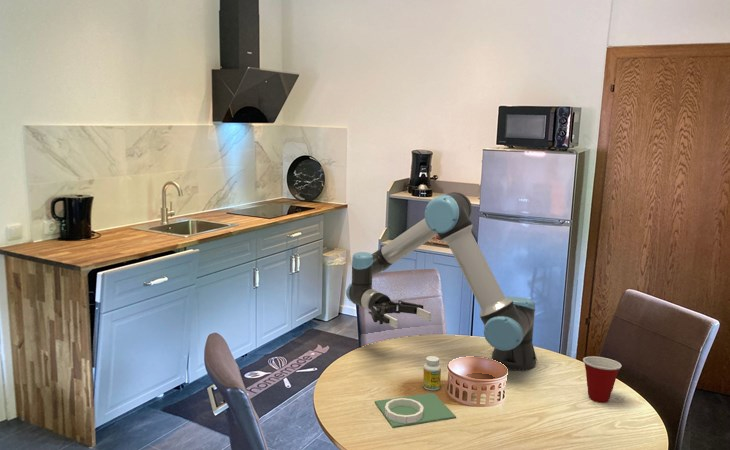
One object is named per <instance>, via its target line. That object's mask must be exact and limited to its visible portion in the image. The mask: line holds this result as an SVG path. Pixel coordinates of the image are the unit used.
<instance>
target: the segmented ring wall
mask: <svg viewBox="0 0 730 450" xmlns="http://www.w3.org/2000/svg"><path fill="white" fill-rule="evenodd" d="M397 398H398V399H392V398H391V399H392V400H391V401H389V402H387V403H386V406H385V415H386V416H387V418H388V419H390V420H392V421H394V422H397V423H405V424H406V423H407V424H408V423H414V422H417V421H419V420H421V419H422V417H423V409H424V407H423V406H422V405H421V403H420V402H418V401H415V400H413V399H406V398H399V397H397ZM397 406H409V407H412V408H415V409H417V410H418V411H419V412H417V413H416V414H412V415H399V414H396V413H393V412H391V411H390V409H391V408H393V407H397Z"/></svg>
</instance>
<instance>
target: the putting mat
mask: <svg viewBox="0 0 730 450" xmlns="http://www.w3.org/2000/svg"><path fill="white" fill-rule="evenodd" d="M398 398H406V399H413V400H415V401H418V402H420V403H421V405H422V406H423V407H424V409H423V417H422V419H421V420H419V421H417V422H414V423H408V424H407V423H406V424H405V423H397V422H394V421H392V420H390V419H388V418H387V416H386V415H385V406H386V403H387V402H389V401H391V400H392V399H398ZM374 404H375V405H376V407H377V408H378V409H379V411H380V412H381V414H382V416H383V417H385V419H386V421H387V422H388V423H389V425H390V426H391V427H392V429H394V428H401V427H407V426H413V425H414V426H415V425H420V424H427V423H433V422H434V423H435V422H439V421H446V420H451V419H452V420H453V419H456V418H457V416H456V415H455V414H454V412H452V410H451V409H450V408H449V407H448V406H447V405H446V404H445V403H444V402H443V400H441V399H440V398H439V397H438V396H437V394H435V392H429V393H422V394H416V395H415V394H414V395H406V396H402V397H400V396H399V397H394V398H385V399H381V400H374ZM390 411H391V412H393V413H396V414H399V415H412V414H416V413H417V412H419V411H418V410H417V409H415V408H412V407H409V406H397V407H393V408H391V409H390Z"/></svg>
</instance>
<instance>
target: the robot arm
mask: <svg viewBox="0 0 730 450" xmlns="http://www.w3.org/2000/svg"><path fill="white" fill-rule="evenodd" d="M472 212H473V205H472V203H471V201H470V199H469V198H468V197H467V196H466V195H465V194H464V193H461V192H457V191H455V192H449V193H447V194H440V195H437V196H436V197H433V199H431V200H430V201H429V202H428V203H427V204H426V207H425V210H424V218H422V220H420V221H419V222H417V223H416V224H414V225H413V226H411V227H410V228H409V229H406V230H405V231H404V232H402V233H401V234H399V235H398V236H397V237H395V238H393V240H390V241H389V242H388V243H387V244H385V245H383V246H382V247H380V248H379V249H378V250H376V251H374V252H373V253H370V252H365V251H361V252H360V251H359V252H355V253H353V254H352V259H351V283H350V284H349V285H348V286H347V289H346V292H345V295H346V298H347V299H348V301H350V302H351V303H352V304H354V305H357V306H358V307H360V308H361V307H362V308H363V309H364V310H367V311H368V315H370V316H371V318H372V321H373V323H379V325H384V323H385V324H386V325H388V326H389V327H393V329H394V328H395V329H398V326H399V321H398V320H399V319H397V318H395V317H392V316H391V315H389V314H401V313H404V314H413V315H416V316H417V317H419V318H421V319H424V320H425V321H428V322H432V312H430V311H428V310H425V309H424V305H422V304H416V303H414V302H413V303H412V302H407V301H404V300H398V301H397V302H394V301H392V300H391V298H390V297H389V296H388V295H387V294H384V293H382V292H380V291H378V290H375V289H373V276H375V275H377V274H379V273H381V272H382V271H383V272H384V271H385V270H388V269H389V268H390V267H391V266H392V265H393V264H395V263H396V262H398V261H399V260H401V259H402V258H404V257H406V256H407V255H409V254H410V253H412V252H413V251H415V250H416V249H418V248H419V247H421V246H422V245H424V244H425V243H427V242H429V241H430V240H433V238H435V237H436V236H438V237H439V239H440V241H441V242H443V243H446V244H447V245H448V247H449V249H450V250H451V253H452V254H453V257H454V259H455V261H456V263H457V265H458V266H459V268H460V270H461V272H462V274H463V276H464V279H466V282H467V284H468V286H469V288H470V290H471V292H472V294H473V296H474V297H475V299H476V302H477V303H478V305H479V307H480V313H479V318H480V320H481V322H482V323H483V326H484V327H483V336H484V338H485V341H486V343H488V344H489V345H490V346H491V347H492V348H493V350H492V352H491V360H492V359H493V360H496V361H498V362H501V363H502V364H504V365H505V366H506V367H507V368H508V369H507V370H510V371H529V370H532V369H534V368H535V367H537V354H536V351H535V347H534V344H533V341H534V339H533V337H534V326H535V312H536V303H535V301H533V300H532V299H530V298H526V297H521V296H512V295H511V296H509V295H504V292H503V290H502V288H501V287H500V284H499V283H498V281H497V279H496V277H495V275H494V274H493V272H492V271H493V270H491V268H490V265H489V263H488V261H487V260H486V258H485V255H484V254H483V252H482V250H481V249H480V246H479V244H478V243H477V240H476V239H475V237H474V235H473V232H472V229H473V227H474V226H473V223H472V220H471V219H470V218H471V216H472Z"/></svg>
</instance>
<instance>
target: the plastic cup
mask: <svg viewBox="0 0 730 450" xmlns="http://www.w3.org/2000/svg"><path fill="white" fill-rule="evenodd" d="M582 361H583V363H584V368H585V369H584V370H585V375H586V386H587V394H588V395H587V396H588V397H589V400H591V401H593V402H596V403H601V404H604V403H608V402H609V400H610V398H611V395H612V392H613V390H614V386H615V382H616V379H617V376H618V374H619V371H620V369H621V368H622V366H623V365H622V364H621V363H620V362H619V361H617V360H613V359H611V358H607V357H602V356H593V355H592V356H586V357H583V358H582Z"/></svg>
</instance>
